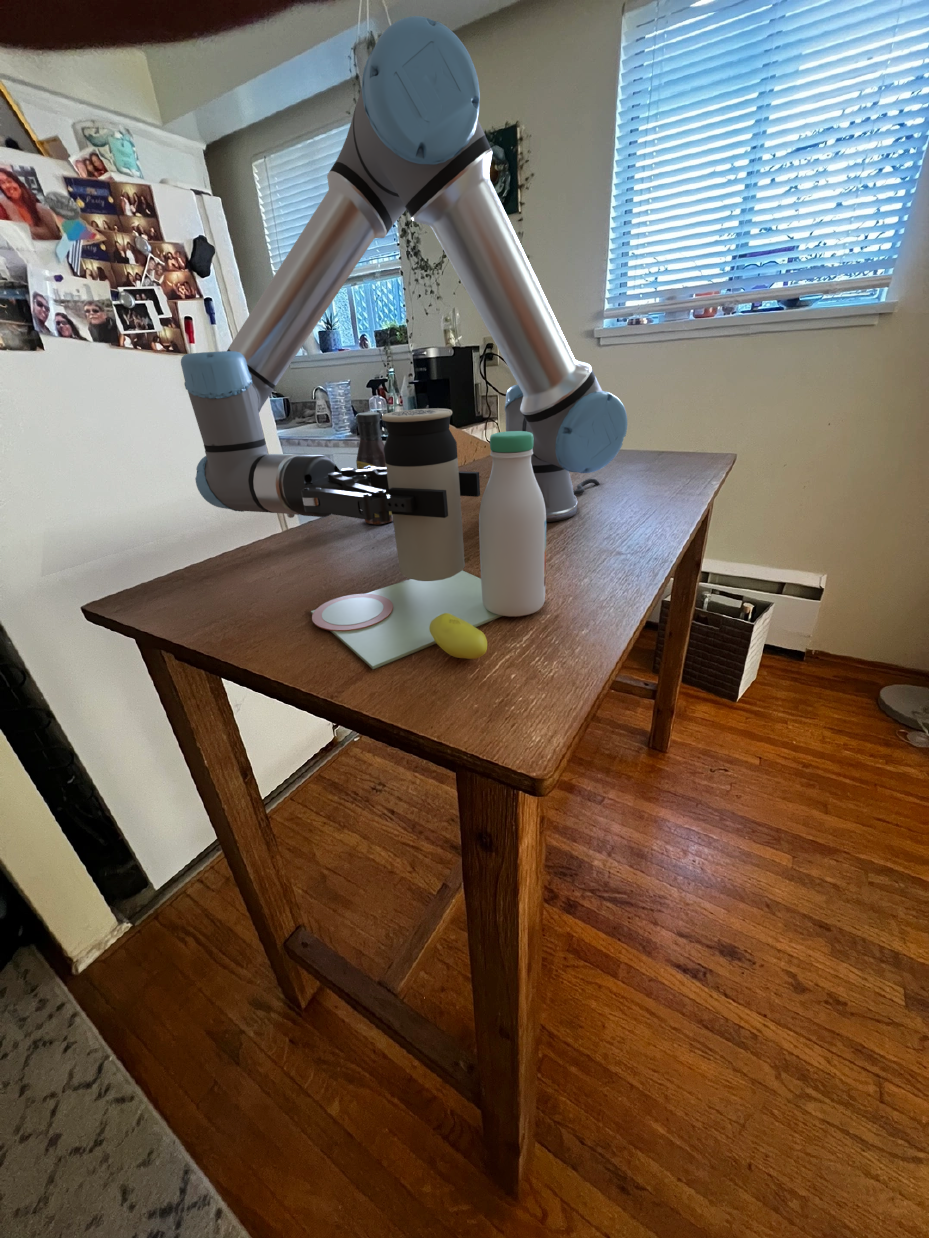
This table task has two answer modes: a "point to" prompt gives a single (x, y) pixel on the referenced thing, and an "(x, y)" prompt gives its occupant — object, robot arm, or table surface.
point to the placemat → (401, 616)
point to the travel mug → (425, 461)
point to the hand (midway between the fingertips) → (462, 493)
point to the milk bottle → (512, 529)
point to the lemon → (458, 637)
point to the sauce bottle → (371, 449)
